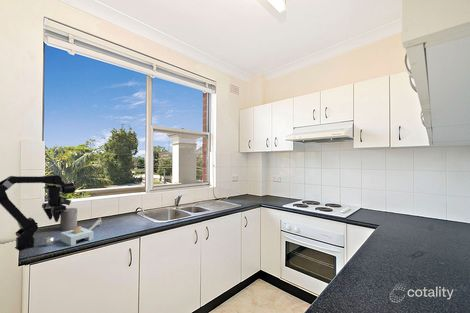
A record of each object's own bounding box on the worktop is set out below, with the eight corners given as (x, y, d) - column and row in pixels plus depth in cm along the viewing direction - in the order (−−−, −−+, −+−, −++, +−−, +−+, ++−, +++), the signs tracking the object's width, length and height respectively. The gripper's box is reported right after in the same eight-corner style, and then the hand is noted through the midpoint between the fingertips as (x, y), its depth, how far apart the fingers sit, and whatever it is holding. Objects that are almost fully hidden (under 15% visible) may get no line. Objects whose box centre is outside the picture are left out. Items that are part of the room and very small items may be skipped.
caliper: (99, 225, 164) (99, 216, 164) (101, 225, 164) (101, 216, 164) (84, 234, 144) (84, 225, 144) (86, 234, 144) (86, 225, 144)
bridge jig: (70, 245, 124) (71, 237, 124) (60, 240, 132) (60, 232, 132) (93, 239, 135) (93, 231, 135) (82, 235, 142) (82, 227, 142)
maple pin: (75, 242, 130) (75, 228, 130) (71, 240, 132) (72, 227, 132) (82, 239, 134) (82, 226, 134) (79, 238, 136) (79, 225, 136)
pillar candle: (57, 229, 153) (57, 208, 153) (72, 225, 161) (72, 205, 161) (64, 231, 148) (65, 209, 148) (80, 227, 157) (80, 207, 157)
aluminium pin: (46, 246, 123) (46, 239, 123) (43, 245, 125) (43, 238, 125) (55, 244, 126) (55, 237, 126) (52, 243, 128) (52, 236, 128)
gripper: (76, 194, 135) (75, 219, 135) (63, 192, 145) (62, 215, 145) (54, 197, 125) (53, 224, 125) (41, 194, 135) (41, 219, 135)
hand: (53, 220), depth 133 cm, fingers open, 9 cm apart
